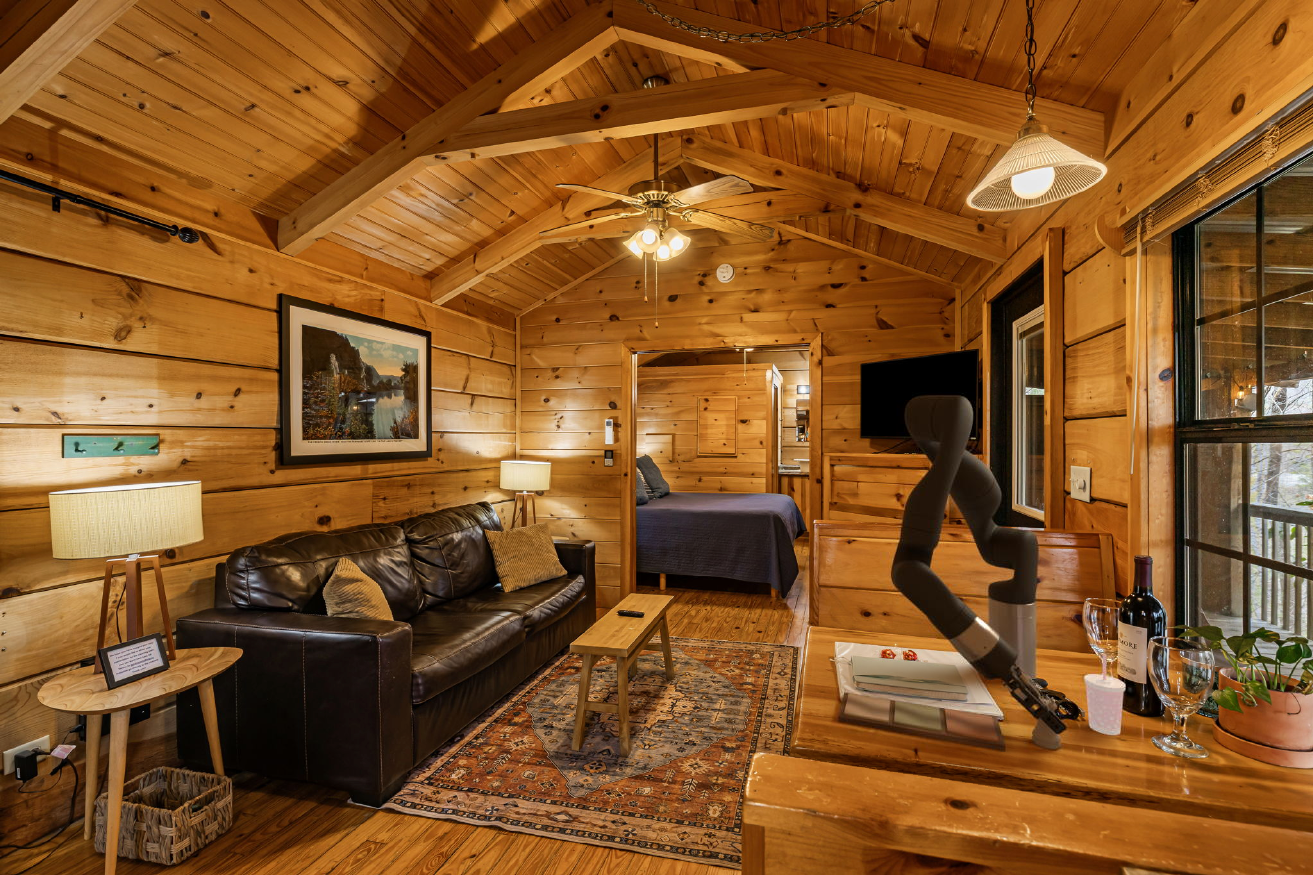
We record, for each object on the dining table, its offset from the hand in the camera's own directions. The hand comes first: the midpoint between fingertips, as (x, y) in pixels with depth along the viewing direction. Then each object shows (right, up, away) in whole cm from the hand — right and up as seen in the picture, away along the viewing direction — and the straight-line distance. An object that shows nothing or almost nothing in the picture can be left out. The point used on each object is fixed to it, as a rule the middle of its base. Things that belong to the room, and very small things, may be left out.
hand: (1057, 721), depth 103 cm
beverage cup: (+13, -4, +6) cm, 14 cm away
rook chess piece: (-1, -4, +1) cm, 5 cm away
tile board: (-21, -4, +9) cm, 23 cm away
